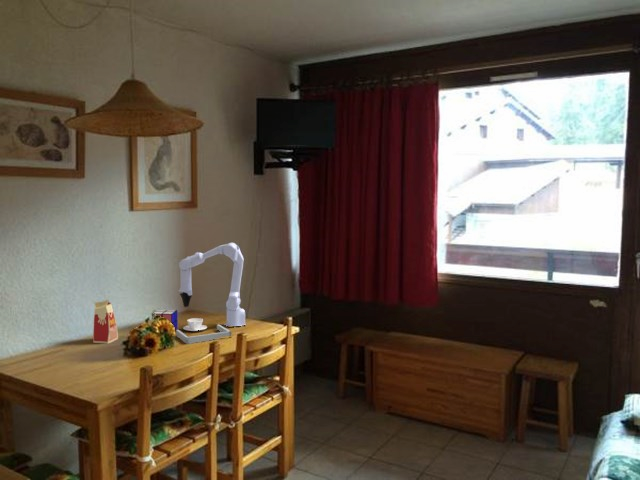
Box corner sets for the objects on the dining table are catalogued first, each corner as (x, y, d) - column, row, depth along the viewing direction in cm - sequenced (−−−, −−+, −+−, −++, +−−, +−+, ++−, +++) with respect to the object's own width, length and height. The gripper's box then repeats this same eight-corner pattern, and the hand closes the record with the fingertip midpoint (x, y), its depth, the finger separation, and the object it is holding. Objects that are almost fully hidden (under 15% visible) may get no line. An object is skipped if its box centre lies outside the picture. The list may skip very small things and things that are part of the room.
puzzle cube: (172, 333, 270) (171, 314, 269) (152, 333, 270) (151, 313, 269) (177, 328, 280) (177, 309, 279) (158, 328, 280) (158, 309, 279)
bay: (219, 330, 277) (219, 324, 277) (231, 337, 264) (231, 331, 263) (176, 335, 266) (176, 329, 265) (186, 344, 252) (186, 337, 252)
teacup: (185, 334, 270) (184, 323, 269) (181, 328, 281) (181, 318, 280) (209, 331, 274) (209, 321, 274) (204, 326, 285) (204, 316, 285)
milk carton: (118, 338, 260) (117, 297, 258) (109, 343, 251) (107, 301, 249) (100, 337, 261) (99, 296, 259) (90, 342, 252) (89, 300, 250)
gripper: (174, 279, 289) (174, 304, 290) (182, 284, 277) (183, 310, 278) (187, 278, 293) (187, 303, 294) (196, 282, 280) (196, 308, 282)
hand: (186, 306), depth 286 cm, fingers closed
